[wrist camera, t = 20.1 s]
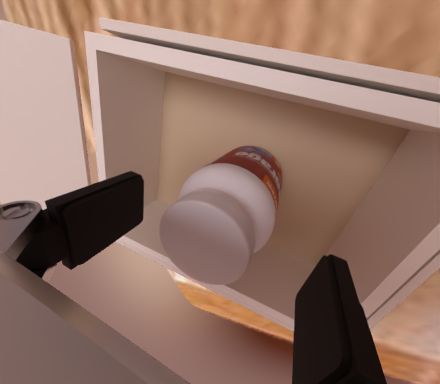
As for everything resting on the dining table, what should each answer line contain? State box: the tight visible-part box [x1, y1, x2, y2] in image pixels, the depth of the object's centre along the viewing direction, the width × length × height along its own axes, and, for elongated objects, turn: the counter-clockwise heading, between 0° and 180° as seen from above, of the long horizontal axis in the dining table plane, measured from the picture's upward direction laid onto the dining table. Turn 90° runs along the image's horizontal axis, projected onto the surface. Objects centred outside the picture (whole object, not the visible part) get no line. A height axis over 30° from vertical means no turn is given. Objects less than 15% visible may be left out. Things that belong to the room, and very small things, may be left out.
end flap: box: [0, 20, 91, 210], centre depth 13 cm, size 1×14×6 cm
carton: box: [84, 17, 440, 332], centre depth 15 cm, size 22×17×8 cm
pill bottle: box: [159, 145, 283, 285], centre depth 13 cm, size 6×6×11 cm
